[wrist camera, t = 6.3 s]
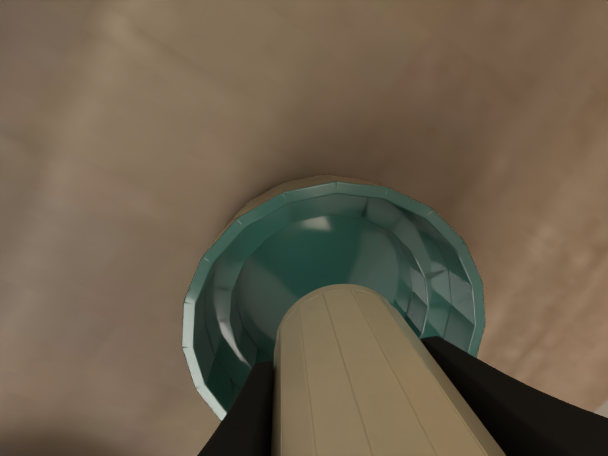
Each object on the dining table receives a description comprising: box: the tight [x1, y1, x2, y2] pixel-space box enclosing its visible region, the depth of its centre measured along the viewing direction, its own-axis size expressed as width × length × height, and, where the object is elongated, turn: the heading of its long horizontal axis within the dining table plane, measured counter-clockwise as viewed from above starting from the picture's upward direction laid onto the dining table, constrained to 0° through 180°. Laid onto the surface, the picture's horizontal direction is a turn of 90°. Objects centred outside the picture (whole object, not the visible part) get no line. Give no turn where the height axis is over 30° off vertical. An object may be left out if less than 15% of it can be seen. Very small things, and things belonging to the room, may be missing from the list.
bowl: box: [182, 175, 485, 421], centre depth 16 cm, size 13×13×4 cm
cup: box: [271, 284, 506, 456], centre depth 9 cm, size 5×5×8 cm
